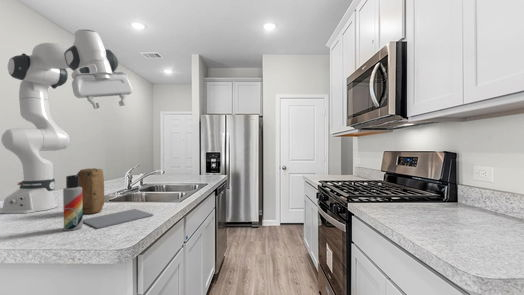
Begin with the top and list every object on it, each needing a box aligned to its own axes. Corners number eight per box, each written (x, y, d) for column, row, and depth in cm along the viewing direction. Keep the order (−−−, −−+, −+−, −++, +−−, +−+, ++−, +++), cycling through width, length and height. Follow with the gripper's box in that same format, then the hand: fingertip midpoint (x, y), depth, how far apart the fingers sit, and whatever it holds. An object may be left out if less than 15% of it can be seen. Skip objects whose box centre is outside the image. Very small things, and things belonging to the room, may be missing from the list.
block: (106, 210, 121) (105, 168, 121) (92, 215, 114) (92, 169, 114) (86, 209, 123) (86, 168, 123) (72, 213, 116) (71, 169, 116)
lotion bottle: (67, 232, 92) (67, 176, 91) (61, 229, 95) (60, 175, 94) (85, 227, 97) (84, 174, 96) (78, 225, 100) (77, 173, 99)
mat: (97, 229, 95) (97, 227, 95) (80, 221, 104) (80, 219, 104) (153, 215, 112) (153, 214, 112) (134, 210, 122) (134, 208, 122)
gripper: (123, 74, 109) (133, 106, 110) (66, 75, 94) (78, 112, 95) (129, 69, 105) (139, 102, 106) (70, 69, 90) (83, 107, 91)
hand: (110, 106), depth 100 cm, fingers open, 8 cm apart
